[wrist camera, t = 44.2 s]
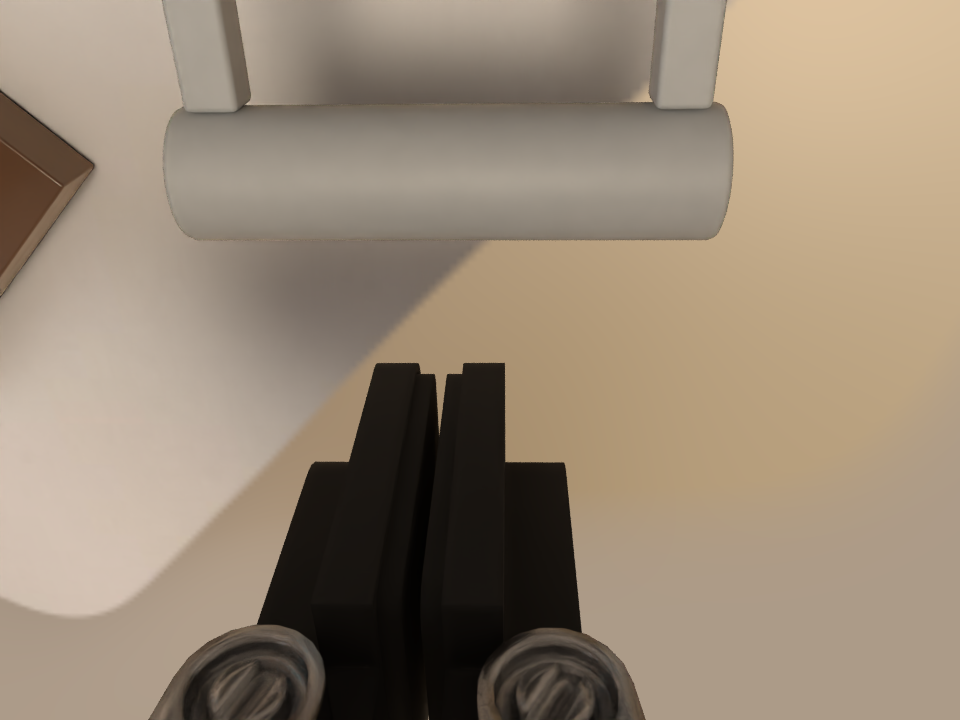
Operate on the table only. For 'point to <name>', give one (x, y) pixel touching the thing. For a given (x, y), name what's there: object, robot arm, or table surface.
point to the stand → (31, 185)
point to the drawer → (448, 152)
